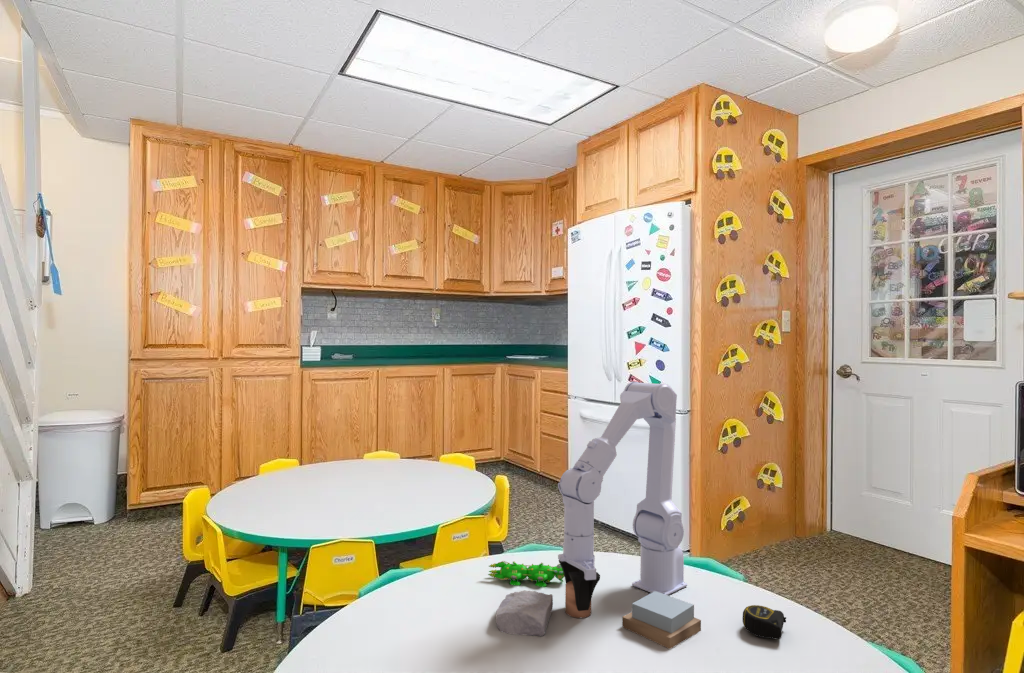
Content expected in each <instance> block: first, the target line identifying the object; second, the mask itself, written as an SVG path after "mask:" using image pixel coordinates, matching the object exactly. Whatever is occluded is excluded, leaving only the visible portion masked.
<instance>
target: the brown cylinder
mask: <svg viewBox="0 0 1024 673" xmlns="http://www.w3.org/2000/svg"><path fill="white" fill-rule="evenodd" d="M564 592H565V594H564V595H565V597H564V598H565V602H564V603H565V607H564V611H565V614H566V615H567V616H569V617H571V618H577V619H584V618H585V619H586V618H588V617H590V616H591V615H592V602H591V603H590V607H589V610H585V611H578V610H577V606H576V600H575V591H574V587H573V583H572V581H569V582H567V583H566V582H565V591H564Z"/></svg>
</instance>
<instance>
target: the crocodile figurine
mask: <svg viewBox="0 0 1024 673" xmlns="http://www.w3.org/2000/svg"><path fill="white" fill-rule="evenodd" d="M488 567H490V568H500V569H498V570H497V569H491V570H489V571H488V572H489V573H488V574H487V575H488V576H489V577H491V578H493V579H495V578H496V579H498V580H500V581H505V580H506V581H509V580H510V582H509V585H512V586H514V587H515V586H517V587H518V586H521V585H522V584H521V582H522V581H523V580H530V582H533V581H536V582H535V584H534V586H537V587H539V588H540V587H541V588H545V587H547V585H548V584H547V583H551V581H553V579H554V578H556V579H557V580H558V581H560V582H561V583H563V582H565V581H564V579H565V577H564V573H563V570H562V567H561V565H560V563H558V564H557V565H556V566H551V565H550V564H547V565H545V563H544V562H541V563H539V564H533V563H532V564H531V565H530V564H528V565H526V564H524V563H521V564H519V563H516V561H512V563H510V562H507V561H506V560H502V561H499V562H495V563H491V564H490V565H488Z"/></svg>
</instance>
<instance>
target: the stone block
mask: <svg viewBox="0 0 1024 673" xmlns="http://www.w3.org/2000/svg"><path fill="white" fill-rule="evenodd" d="M553 597H554V595H553V594H546V593H544V592H539V591H536V590H534V591H533V590H520V591H514V592H510V593H509V594H506V595H505V598H504V599H502V600H501V601H500V604H499V605H498V608H497V609H496V615H495V622H496V627H497V629H498V630H499V631H500V632H502V633H507V634H508V635H509V634H510V635H520V636H521V635H526V636H537V637H544V635H545V634H546V632H547V627H548V624H549V620H550V617H551V615H552V612H553V605H554V602H553V601H554V598H553Z"/></svg>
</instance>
